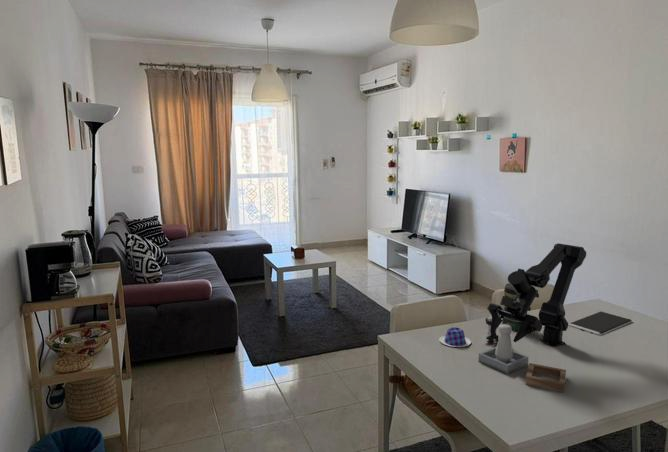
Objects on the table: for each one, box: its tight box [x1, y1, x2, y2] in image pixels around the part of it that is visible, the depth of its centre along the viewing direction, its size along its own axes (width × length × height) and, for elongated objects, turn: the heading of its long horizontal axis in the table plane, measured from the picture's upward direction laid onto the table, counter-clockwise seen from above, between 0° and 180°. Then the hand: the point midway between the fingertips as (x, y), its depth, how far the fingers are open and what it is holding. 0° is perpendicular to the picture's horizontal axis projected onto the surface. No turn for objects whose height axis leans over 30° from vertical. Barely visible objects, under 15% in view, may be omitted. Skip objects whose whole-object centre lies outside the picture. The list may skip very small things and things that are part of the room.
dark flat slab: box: [568, 311, 632, 336], centre depth 196 cm, size 13×27×2 cm, turn 123°
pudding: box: [438, 326, 472, 348], centre depth 178 cm, size 12×12×5 cm
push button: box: [483, 315, 499, 345], centre depth 177 cm, size 7×5×10 cm
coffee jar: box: [501, 282, 528, 331], centre depth 191 cm, size 10×8×19 cm
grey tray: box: [478, 346, 529, 375], centre depth 160 cm, size 12×12×3 cm
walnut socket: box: [524, 362, 567, 393], centre depth 147 cm, size 11×11×2 cm
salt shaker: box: [495, 323, 513, 363], centre depth 159 cm, size 6×6×13 cm
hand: (502, 337), depth 158 cm, fingers open, 9 cm apart
